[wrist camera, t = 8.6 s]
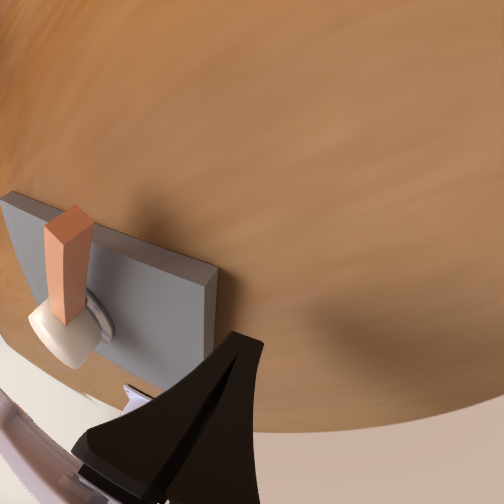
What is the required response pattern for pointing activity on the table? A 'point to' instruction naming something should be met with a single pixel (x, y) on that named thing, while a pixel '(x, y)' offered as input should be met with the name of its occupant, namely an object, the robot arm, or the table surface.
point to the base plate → (129, 294)
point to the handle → (67, 290)
